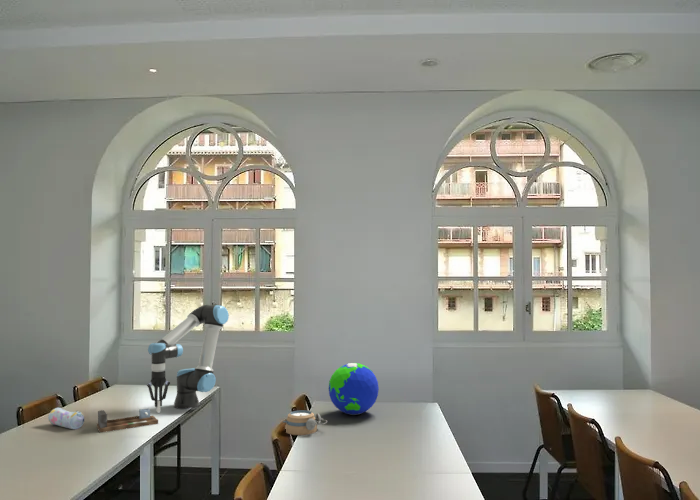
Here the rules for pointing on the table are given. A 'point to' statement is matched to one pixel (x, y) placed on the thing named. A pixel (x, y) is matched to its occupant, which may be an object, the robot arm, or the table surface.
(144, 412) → the blue grey block
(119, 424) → the board
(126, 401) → the table surface
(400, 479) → the table surface
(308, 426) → the alarm clock
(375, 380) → the globe
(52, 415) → the pencil case
